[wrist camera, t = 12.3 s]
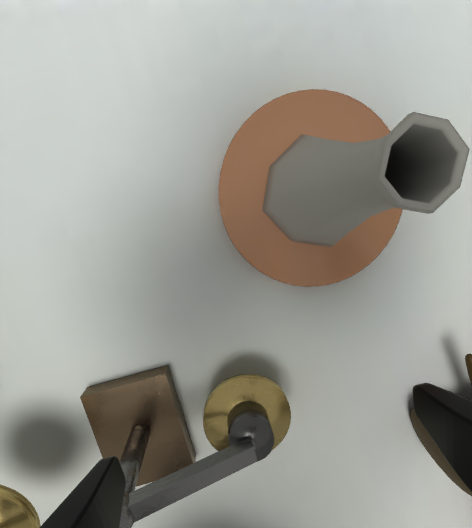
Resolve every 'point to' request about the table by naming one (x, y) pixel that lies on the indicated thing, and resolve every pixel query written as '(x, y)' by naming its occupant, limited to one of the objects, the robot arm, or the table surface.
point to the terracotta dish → (255, 180)
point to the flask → (363, 178)
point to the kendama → (432, 447)
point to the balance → (171, 439)
